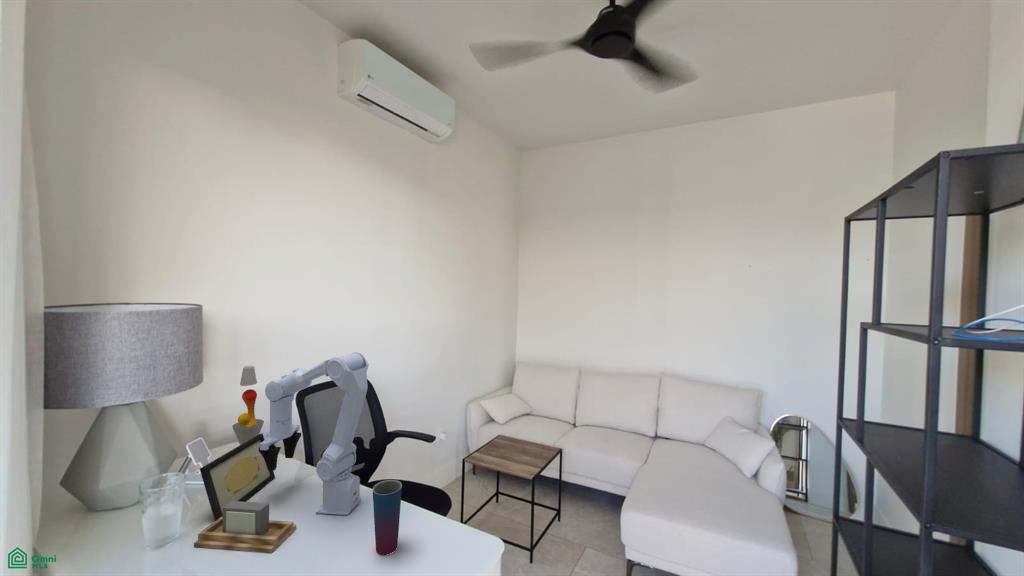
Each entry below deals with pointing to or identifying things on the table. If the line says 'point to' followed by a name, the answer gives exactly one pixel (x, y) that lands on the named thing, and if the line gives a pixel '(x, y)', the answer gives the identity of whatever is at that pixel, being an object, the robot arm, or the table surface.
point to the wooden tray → (245, 537)
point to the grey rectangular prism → (246, 518)
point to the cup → (386, 515)
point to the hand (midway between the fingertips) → (280, 463)
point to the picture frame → (235, 475)
